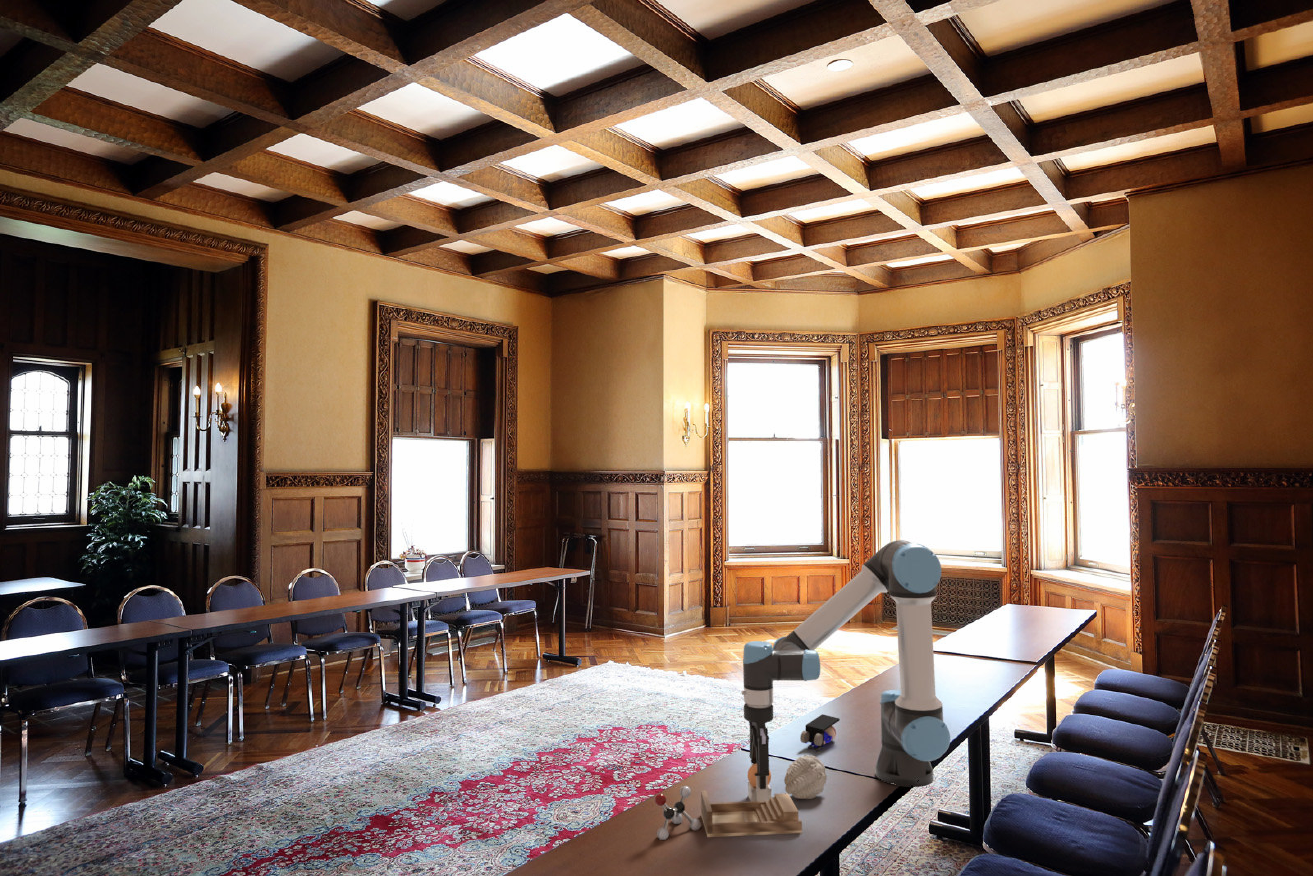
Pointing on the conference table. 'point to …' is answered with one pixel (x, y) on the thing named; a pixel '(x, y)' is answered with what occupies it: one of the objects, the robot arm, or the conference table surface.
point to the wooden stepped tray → (750, 817)
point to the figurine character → (819, 731)
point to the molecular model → (676, 816)
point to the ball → (753, 778)
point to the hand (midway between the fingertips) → (759, 795)
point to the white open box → (753, 792)
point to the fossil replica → (805, 777)
